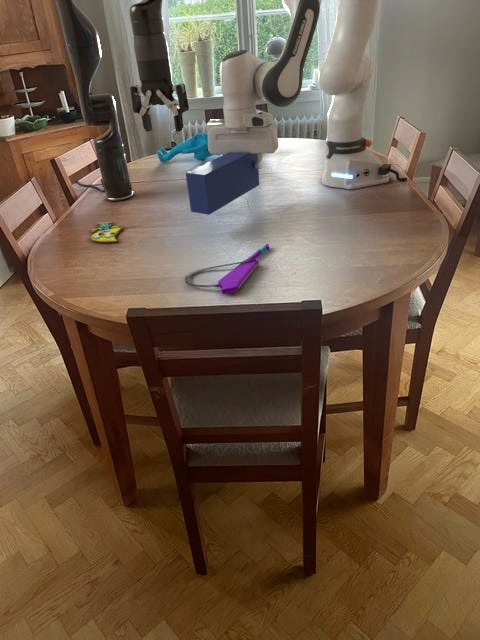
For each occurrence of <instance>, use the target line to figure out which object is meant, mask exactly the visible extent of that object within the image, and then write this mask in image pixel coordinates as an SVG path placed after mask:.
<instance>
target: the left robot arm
mask: <svg viewBox="0 0 480 640" xmlns="http://www.w3.org/2000/svg"><path fill="white" fill-rule="evenodd" d="M54 1H55V5H56V7H57V11H58V16H59V21H60V24H61V29H62V32H63V37H64V38H63V39H64V42H65V45H66V50H67V54H68V57H69V61H70V64H71V68H72V72H73V76H74V79H75V84H76V90H77V95H78V100H79V107H80V111H81V116H82V118H83V121H84V123H85V125H86V126H87V127H90V128H97V127H103V126H108V128H107V130H106V131H105V132H104V133H103V134H101V135H99V136H97V137H96V138H94V140H93V146H94V149H95V154H96V158H97V159H96V160H97V162H98V167H99V171H100V176H101V179H100V183H101V187H102V188H103V189H101V188H99V187H98V186H97V185H91V184H84V183H80V181H79V180H78V179H75V180H74V184H77V185H78V186H80V187H86V188H93V189H96V190H97V191H99V192H101V193H104V194H105V198H106V200H107V201H109V202H121V201H125V200H128V199H131V198H132V197H134V191H133V186H132V182H131V178H130V173H129V168H128V163H127V158H126V153H125V148H124V143H123V140H122V135H121V130H120V123H119V117H118V110H117V105H116V101H115V99H114V96H113V95H112V94H111V93H110V92H109V93H106V92H105V93H99V94H92V95H91V94H90V91H91V87H92V86H91V85H92V82H93V80H94V77H95V75H96V72H97V71H98V69H99V66H100V64H101V60H102V48H101V44H100V37H99V34H98V30H97V28H96V25H94V23H93V22H92V21H91V19H90V18H89V17H88V16H87V15H86V14H85V13H84V12H83V11H82V9H81V8H80V7H79V6H78V5H77V3H76V1H75V0H54ZM162 10H163V0H140V1H139V2H135V3H134V4H132V5H130V7H129V18H130V23H131V29H132V35H133V47H134V49H133V50H134V55H135V60H136V65H137V66H136V67H137V71H138V77H139V81H140V83H141V84H140V85H139V84H135V85H132V86H130V87H129V93H130V98H131V106H132V112H133V113H134V114H138V115H140V117H141V121H142V127H143V129H144V130H145V132H151V131H153V124H152V118H151V114H150V111H151V109H152V107H153V106H157V105H158V106H166V108H167V109H169V110H170V111H171V112H172V113H173V121H174V129H175V132H176V133H180V132H182V131H183V129H184V119H183V115H184V113H185V112H188V111H189V110H190V105H189V101H188V100H189V99H188V94H187V88H186V85H185V83H179V84H173V81H172V78H173V77H172V75H173V74H172V69H171V62H170V52H169V47H168V41H167V38H166V33H165V27H164V20H163V11H162ZM174 93H175V95H176V96H177V99H176V97H175V96H174ZM142 95H143V96H144V99H143V101H142Z"/></svg>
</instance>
